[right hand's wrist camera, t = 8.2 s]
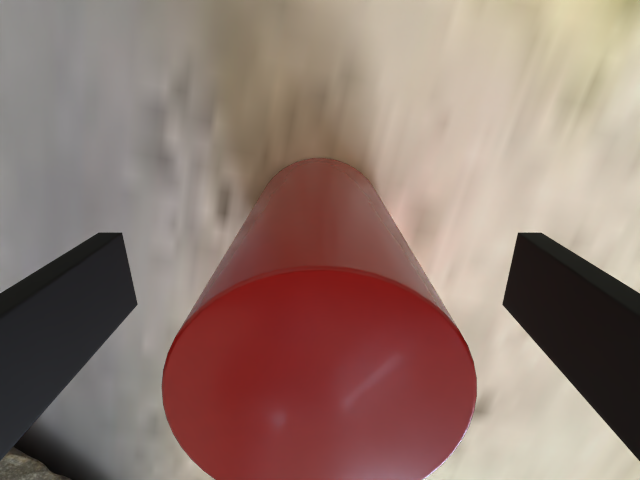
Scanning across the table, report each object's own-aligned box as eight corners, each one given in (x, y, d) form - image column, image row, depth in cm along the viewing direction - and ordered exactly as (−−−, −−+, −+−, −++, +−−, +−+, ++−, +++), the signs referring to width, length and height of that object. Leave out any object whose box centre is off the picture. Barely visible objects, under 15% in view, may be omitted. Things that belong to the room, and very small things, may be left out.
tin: (297, 131, 16) (254, 198, 5) (407, 201, 17) (547, 368, 6) (235, 239, 18) (113, 445, 7) (337, 295, 19) (360, 542, 8)
